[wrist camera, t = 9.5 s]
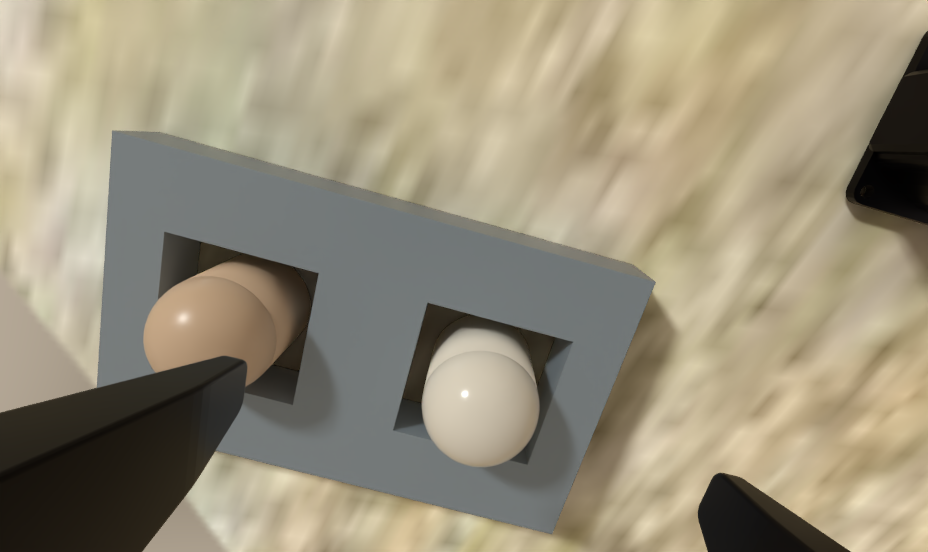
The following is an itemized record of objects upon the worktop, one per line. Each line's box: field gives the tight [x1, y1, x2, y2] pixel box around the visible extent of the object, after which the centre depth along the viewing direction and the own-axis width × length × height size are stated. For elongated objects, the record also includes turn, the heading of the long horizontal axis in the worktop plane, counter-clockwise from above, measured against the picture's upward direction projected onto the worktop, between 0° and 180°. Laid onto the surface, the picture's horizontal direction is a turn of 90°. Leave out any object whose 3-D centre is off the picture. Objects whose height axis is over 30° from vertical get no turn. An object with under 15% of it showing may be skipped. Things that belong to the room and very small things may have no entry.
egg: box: [422, 315, 540, 467], centre depth 18 cm, size 4×4×6 cm
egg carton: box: [97, 131, 656, 534], centre depth 18 cm, size 20×12×6 cm, turn 74°
